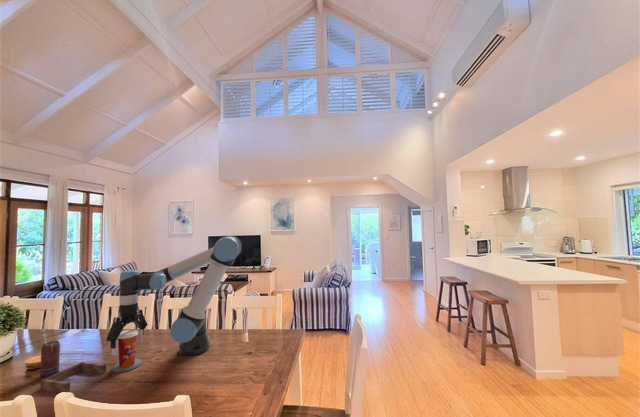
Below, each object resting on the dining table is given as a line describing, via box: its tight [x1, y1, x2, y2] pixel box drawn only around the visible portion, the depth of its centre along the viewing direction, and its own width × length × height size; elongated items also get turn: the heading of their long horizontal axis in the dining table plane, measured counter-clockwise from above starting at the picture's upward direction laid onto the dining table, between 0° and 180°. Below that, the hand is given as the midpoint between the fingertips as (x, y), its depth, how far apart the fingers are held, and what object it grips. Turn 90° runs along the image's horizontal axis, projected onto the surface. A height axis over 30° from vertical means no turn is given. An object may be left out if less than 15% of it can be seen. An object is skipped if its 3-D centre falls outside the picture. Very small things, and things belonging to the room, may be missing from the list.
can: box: [39, 340, 61, 380], centre depth 127 cm, size 6×6×14 cm
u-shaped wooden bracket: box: [40, 361, 107, 393], centre depth 122 cm, size 14×16×4 cm
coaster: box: [111, 358, 143, 373], centre depth 134 cm, size 12×12×1 cm
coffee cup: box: [117, 329, 138, 368], centre depth 135 cm, size 8×8×15 cm
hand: (127, 348), depth 135 cm, fingers open, 13 cm apart
